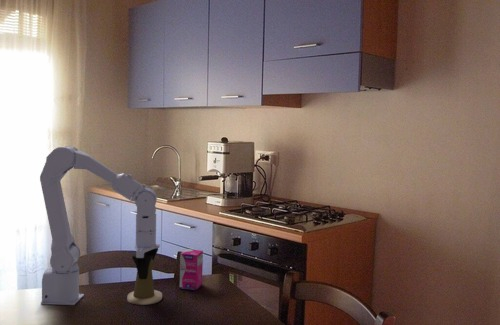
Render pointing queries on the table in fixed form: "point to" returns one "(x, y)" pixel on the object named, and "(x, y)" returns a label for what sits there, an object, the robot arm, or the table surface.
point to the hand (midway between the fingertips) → (145, 275)
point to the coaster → (145, 301)
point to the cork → (144, 284)
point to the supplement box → (191, 269)
